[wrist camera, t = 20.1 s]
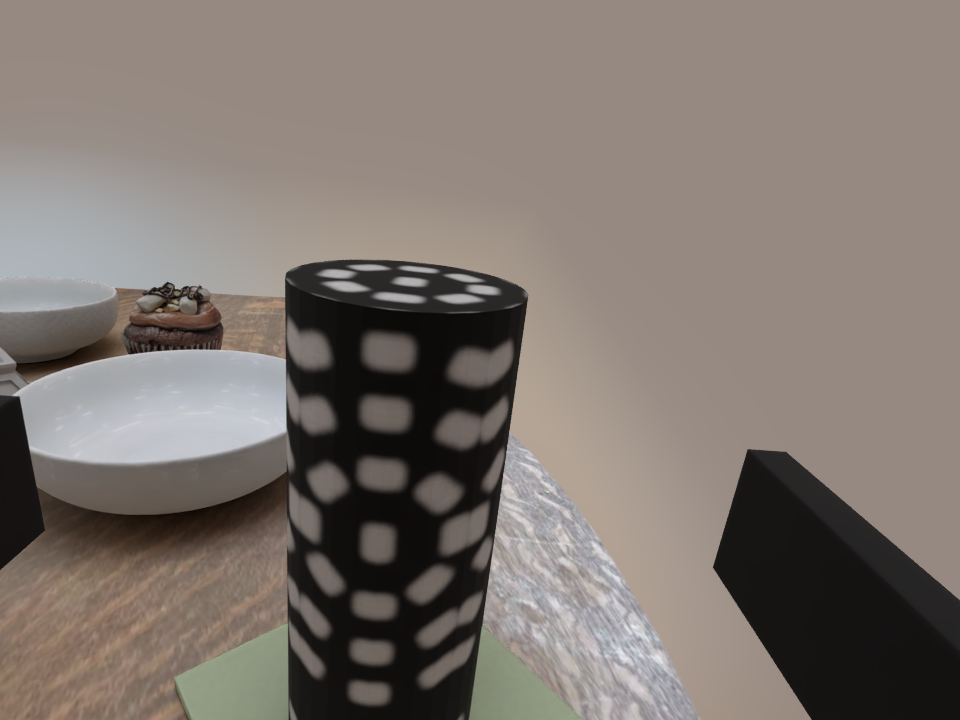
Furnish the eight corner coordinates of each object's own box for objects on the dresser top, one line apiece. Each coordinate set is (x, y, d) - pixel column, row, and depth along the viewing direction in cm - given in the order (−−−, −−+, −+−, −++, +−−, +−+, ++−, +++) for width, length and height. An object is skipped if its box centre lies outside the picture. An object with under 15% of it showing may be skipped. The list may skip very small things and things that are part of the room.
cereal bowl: (117, 373, 58) (110, 309, 56) (-97, 386, 51) (-115, 312, 48) (127, 328, 72) (122, 275, 70) (-39, 332, 64) (-52, 273, 62)
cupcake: (227, 358, 66) (224, 276, 63) (222, 389, 58) (218, 296, 54) (135, 359, 63) (127, 273, 59) (116, 392, 54) (104, 294, 51)
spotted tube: (467, 806, 22) (539, 325, 15) (258, 788, 22) (241, 293, 15) (472, 638, 30) (521, 273, 23) (319, 623, 29) (325, 252, 23)
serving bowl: (360, 433, 52) (363, 365, 49) (241, 590, 32) (237, 488, 30) (155, 400, 53) (149, 333, 51) (-79, 529, 34) (-105, 428, 31)
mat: (414, 568, 35) (414, 560, 35) (589, 736, 26) (591, 727, 26) (174, 686, 26) (173, 676, 26) (311, 1016, 16) (311, 1005, 16)
